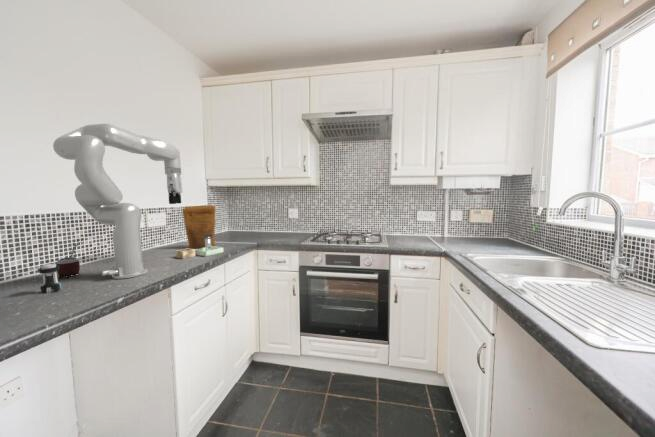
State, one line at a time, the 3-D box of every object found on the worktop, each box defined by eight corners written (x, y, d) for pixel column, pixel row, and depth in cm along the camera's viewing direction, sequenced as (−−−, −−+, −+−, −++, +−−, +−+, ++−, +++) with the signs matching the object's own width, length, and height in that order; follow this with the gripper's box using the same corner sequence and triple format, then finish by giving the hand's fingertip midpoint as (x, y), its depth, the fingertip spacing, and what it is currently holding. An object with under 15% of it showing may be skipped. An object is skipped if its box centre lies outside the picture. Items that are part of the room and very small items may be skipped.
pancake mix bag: (217, 247, 168) (214, 205, 165) (184, 250, 161) (181, 206, 159) (218, 245, 174) (215, 205, 171) (187, 248, 168) (184, 206, 165)
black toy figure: (31, 295, 89) (28, 268, 89) (42, 290, 94) (38, 264, 93) (56, 292, 92) (53, 265, 91) (65, 287, 97) (62, 262, 96)
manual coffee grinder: (57, 277, 111) (53, 243, 109) (82, 272, 117) (78, 240, 115) (58, 280, 106) (54, 245, 105) (84, 275, 112) (80, 242, 111)
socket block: (183, 258, 139) (183, 251, 138) (176, 257, 142) (175, 250, 142) (195, 256, 145) (195, 249, 144) (188, 254, 148) (187, 248, 148)
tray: (206, 256, 143) (206, 251, 143) (193, 254, 148) (193, 249, 148) (223, 252, 153) (223, 247, 153) (211, 250, 159) (210, 246, 158)
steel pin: (208, 253, 148) (206, 237, 147) (204, 252, 150) (203, 237, 149) (212, 252, 151) (211, 236, 150) (209, 251, 153) (208, 236, 152)
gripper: (176, 170, 130) (178, 203, 131) (185, 173, 146) (187, 203, 148) (159, 170, 128) (162, 204, 129) (170, 173, 144) (172, 203, 146)
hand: (175, 203), depth 139 cm, fingers open, 9 cm apart
